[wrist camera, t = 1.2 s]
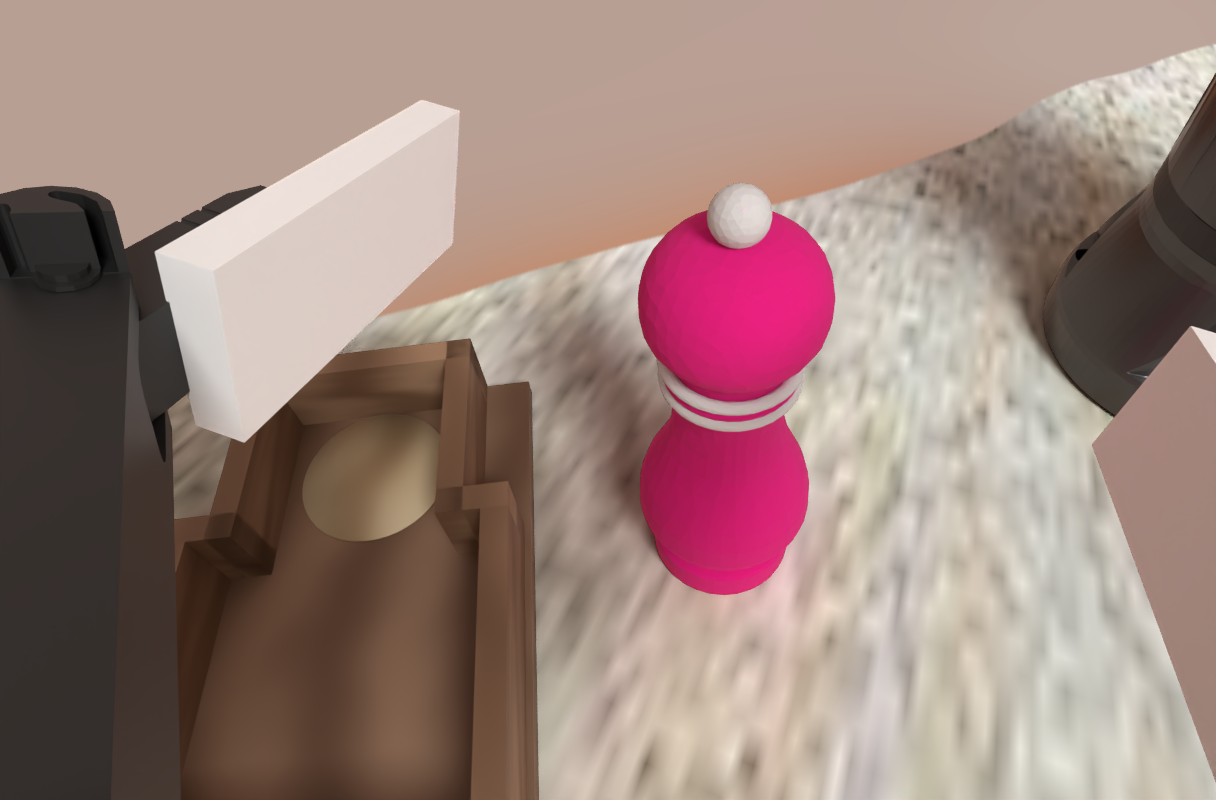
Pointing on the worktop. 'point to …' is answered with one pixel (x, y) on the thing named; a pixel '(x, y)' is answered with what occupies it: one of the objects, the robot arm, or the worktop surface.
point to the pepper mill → (730, 387)
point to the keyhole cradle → (366, 593)
